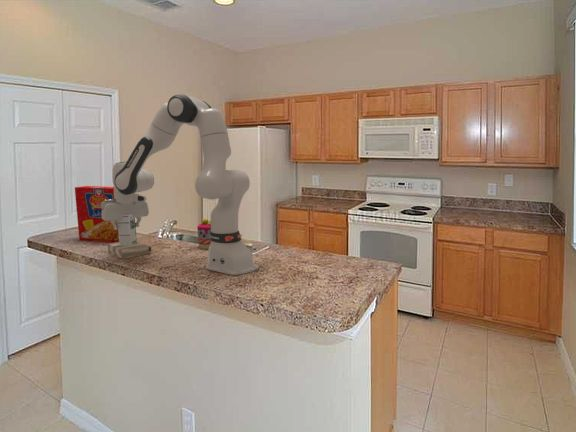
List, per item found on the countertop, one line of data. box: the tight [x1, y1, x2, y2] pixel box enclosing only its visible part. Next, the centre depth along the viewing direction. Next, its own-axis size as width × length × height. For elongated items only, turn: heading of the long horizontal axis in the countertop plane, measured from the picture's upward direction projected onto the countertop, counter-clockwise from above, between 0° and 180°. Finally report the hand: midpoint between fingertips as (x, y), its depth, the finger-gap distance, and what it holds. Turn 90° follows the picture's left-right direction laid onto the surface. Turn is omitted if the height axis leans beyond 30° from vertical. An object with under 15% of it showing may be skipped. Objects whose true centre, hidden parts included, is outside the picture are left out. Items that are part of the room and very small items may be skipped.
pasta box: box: [74, 185, 119, 244], centre depth 199 cm, size 28×8×28 cm, turn 75°
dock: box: [107, 240, 152, 260], centre depth 177 cm, size 16×13×4 cm
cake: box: [197, 218, 211, 250], centre depth 188 cm, size 10×10×15 cm
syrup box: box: [117, 214, 138, 246], centre depth 175 cm, size 6×6×14 cm
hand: (126, 228), depth 175 cm, fingers open, 8 cm apart
